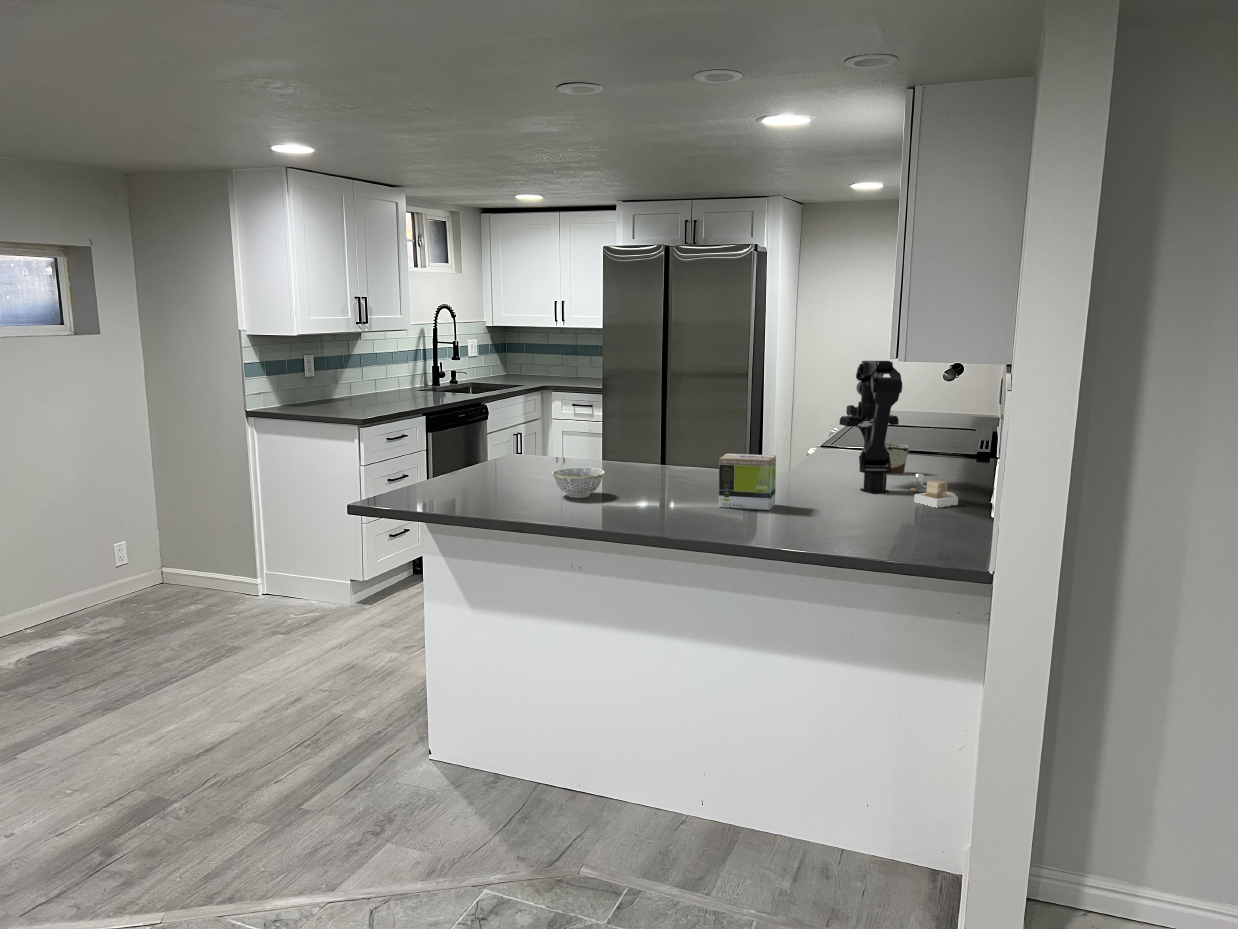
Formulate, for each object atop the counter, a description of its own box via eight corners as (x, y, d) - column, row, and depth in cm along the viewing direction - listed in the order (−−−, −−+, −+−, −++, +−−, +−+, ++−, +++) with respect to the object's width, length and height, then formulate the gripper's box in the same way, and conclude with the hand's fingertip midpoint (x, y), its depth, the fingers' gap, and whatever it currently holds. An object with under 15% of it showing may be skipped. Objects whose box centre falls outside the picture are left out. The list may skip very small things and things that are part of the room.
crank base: (942, 500, 270) (942, 497, 270) (902, 491, 284) (902, 488, 284) (961, 497, 274) (961, 494, 274) (920, 488, 288) (921, 485, 288)
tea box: (775, 504, 265) (777, 454, 262) (769, 511, 256) (770, 460, 253) (725, 500, 270) (726, 451, 267) (717, 507, 261) (718, 457, 258)
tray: (936, 507, 260) (937, 499, 260) (914, 502, 268) (914, 494, 267) (957, 504, 264) (958, 496, 264) (934, 499, 272) (935, 491, 271)
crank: (949, 493, 275) (949, 479, 274) (942, 494, 273) (943, 480, 273) (919, 486, 285) (920, 473, 284) (912, 487, 283) (913, 473, 283)
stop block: (936, 503, 263) (937, 483, 262) (925, 501, 267) (927, 481, 266) (946, 502, 265) (947, 482, 264) (935, 499, 269) (936, 480, 268)
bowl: (549, 501, 269) (549, 476, 268) (555, 490, 285) (555, 466, 283) (602, 501, 268) (602, 476, 267) (605, 490, 284) (605, 467, 283)
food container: (904, 471, 318) (906, 443, 317) (908, 474, 312) (909, 446, 311) (868, 470, 320) (870, 442, 318) (871, 473, 314) (873, 445, 312)
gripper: (882, 396, 303) (879, 442, 306) (832, 397, 298) (830, 444, 301) (900, 399, 293) (898, 447, 295) (849, 400, 288) (847, 449, 290)
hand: (867, 446), depth 296 cm, fingers closed
